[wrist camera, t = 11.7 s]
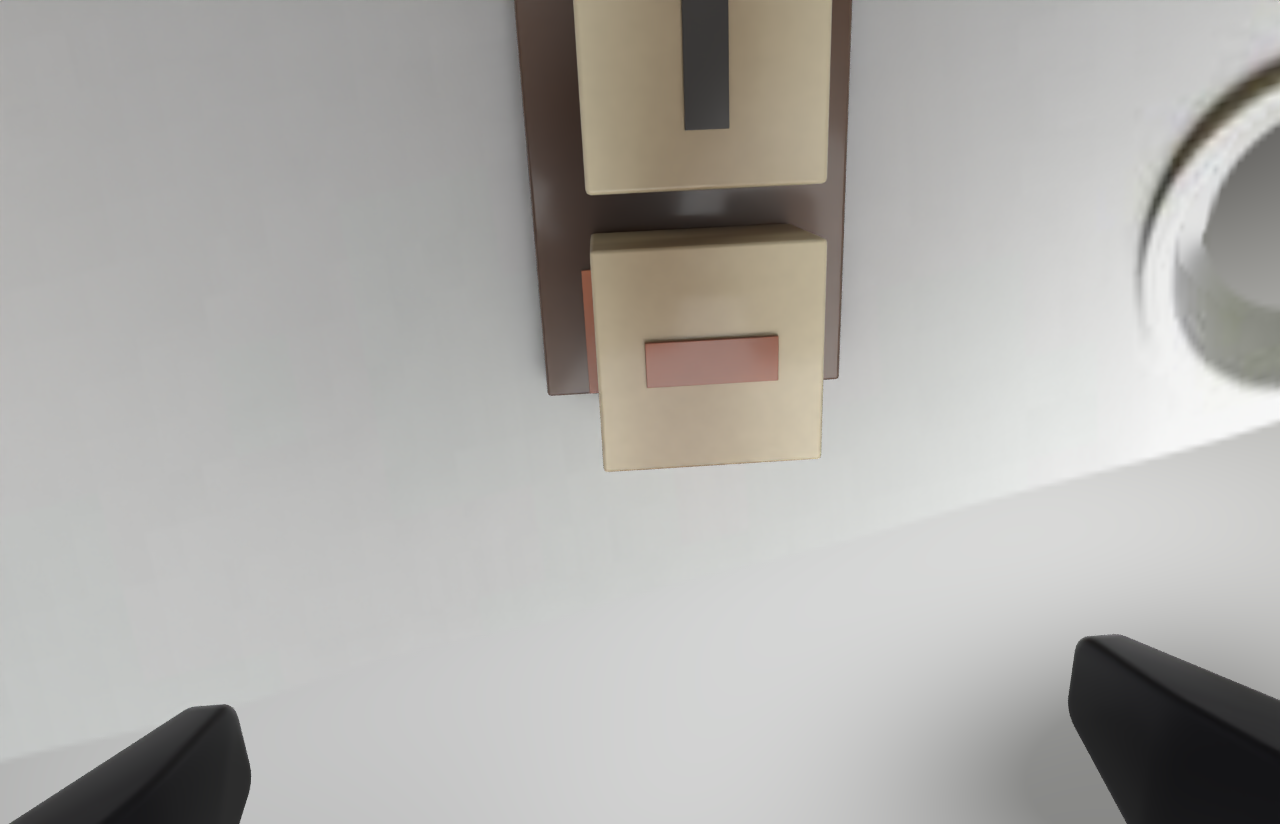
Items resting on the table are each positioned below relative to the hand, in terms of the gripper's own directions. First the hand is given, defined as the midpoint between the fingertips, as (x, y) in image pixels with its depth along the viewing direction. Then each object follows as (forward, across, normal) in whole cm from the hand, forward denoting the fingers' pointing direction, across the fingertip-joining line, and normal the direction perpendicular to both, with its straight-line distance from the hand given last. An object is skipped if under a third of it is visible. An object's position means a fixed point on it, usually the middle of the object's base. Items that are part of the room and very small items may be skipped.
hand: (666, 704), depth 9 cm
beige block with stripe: (+11, -2, -2) cm, 11 cm away
